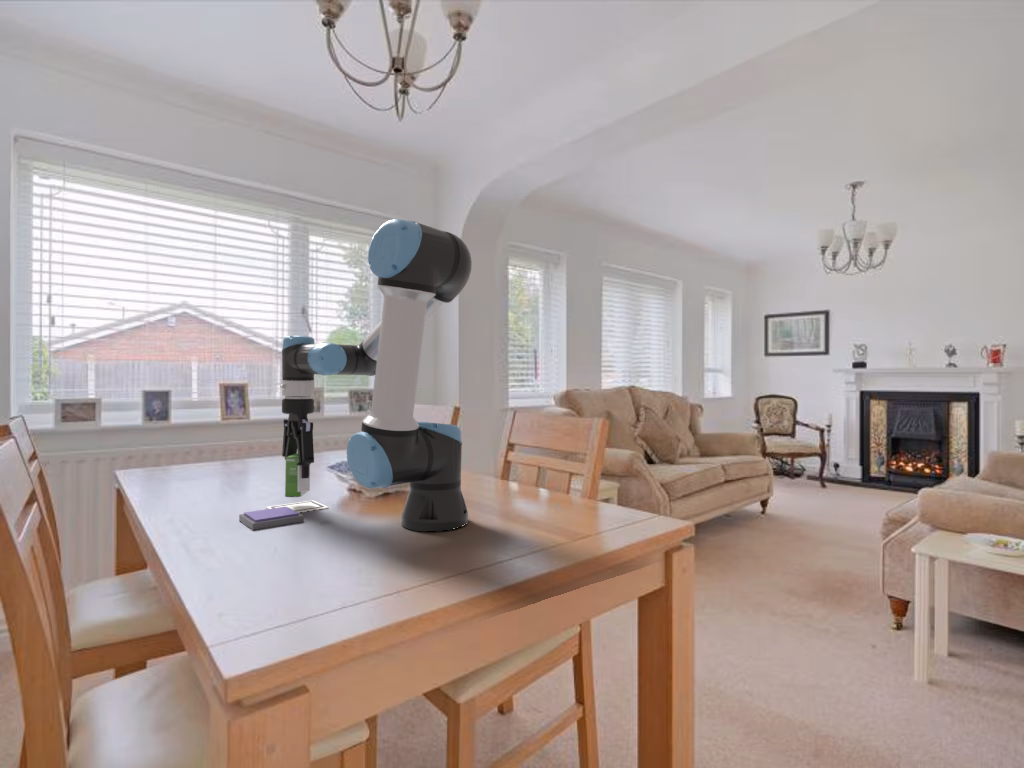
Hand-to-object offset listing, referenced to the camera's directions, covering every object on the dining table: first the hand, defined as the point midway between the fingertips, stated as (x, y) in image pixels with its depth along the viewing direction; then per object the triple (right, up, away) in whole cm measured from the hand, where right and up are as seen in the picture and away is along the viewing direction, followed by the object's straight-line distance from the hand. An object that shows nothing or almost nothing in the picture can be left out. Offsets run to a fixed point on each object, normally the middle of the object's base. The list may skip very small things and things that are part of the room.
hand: (297, 488), depth 137 cm
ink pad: (-1, -5, -12) cm, 13 cm away
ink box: (0, -2, 0) cm, 2 cm away
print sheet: (0, -5, 0) cm, 5 cm away
